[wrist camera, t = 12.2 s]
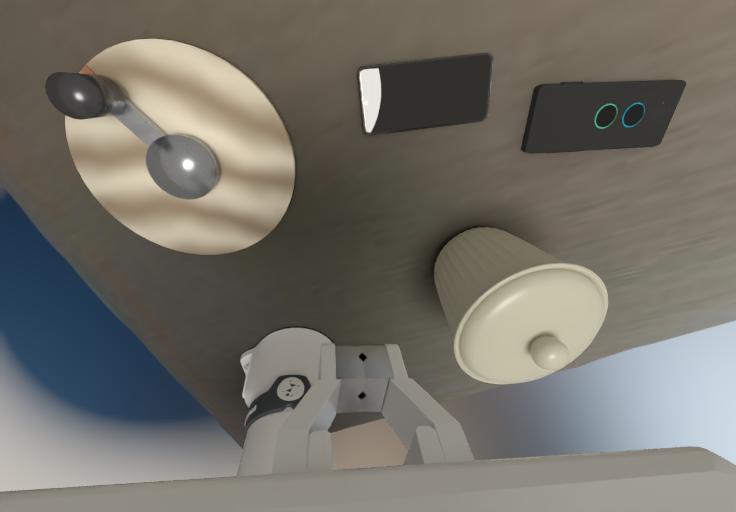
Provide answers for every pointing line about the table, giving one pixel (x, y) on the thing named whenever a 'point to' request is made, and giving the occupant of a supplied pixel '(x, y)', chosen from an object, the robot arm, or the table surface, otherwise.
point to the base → (197, 118)
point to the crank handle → (139, 133)
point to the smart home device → (600, 115)
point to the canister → (515, 306)
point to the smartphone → (425, 93)
